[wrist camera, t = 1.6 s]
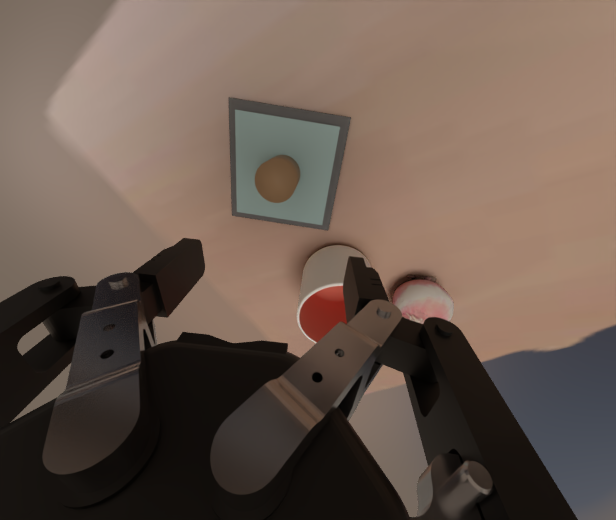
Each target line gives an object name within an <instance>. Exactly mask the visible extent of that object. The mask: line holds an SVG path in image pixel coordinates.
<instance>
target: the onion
mask: <svg viewBox="0 0 616 520" xmlns="http://www.w3.org/2000/svg"><path fill="white" fill-rule="evenodd" d="M407 277H409V278H412V279H415V278H418V277H417V276H409V275H407ZM422 277H424V280H422V279H419V280H411V281H408V282H405V283H403V284H401V285H400V286H399V287H398V288H397V289H396V290H395V293H394V295H393V304H394V305H395V306H397V307H398V308H399V309H400V311H401V313H402V317H404V318H406V319H409V320H412V321H415V322H418V323H421V324H423V323H424V321H425V320H426V319H427V318H429V317H438V318H442V319H445V320H447V321H450V320H451V318H452V316H453V309H454V302H453V300H452V298H451V296H450V295H449V294H448V293H447V291H446V290H445V289H444V288H442V287H441V286H440V285H439V284H437V283H435V282H436V277H425V276H422Z"/></svg>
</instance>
